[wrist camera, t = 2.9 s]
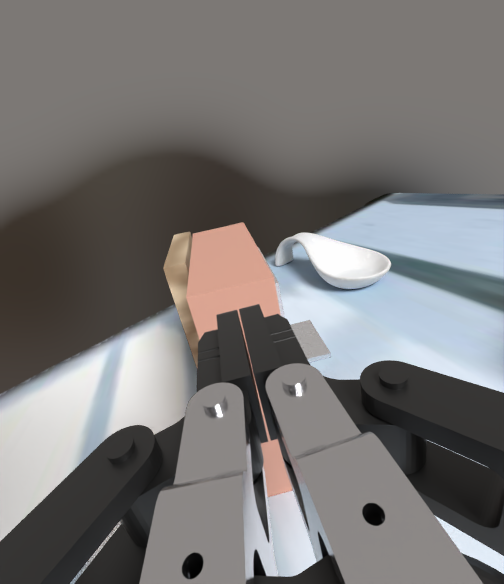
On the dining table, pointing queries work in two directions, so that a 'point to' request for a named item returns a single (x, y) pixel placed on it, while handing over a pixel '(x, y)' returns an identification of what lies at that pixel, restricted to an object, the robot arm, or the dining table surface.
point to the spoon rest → (337, 260)
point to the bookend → (305, 333)
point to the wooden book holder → (182, 285)
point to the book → (234, 305)
